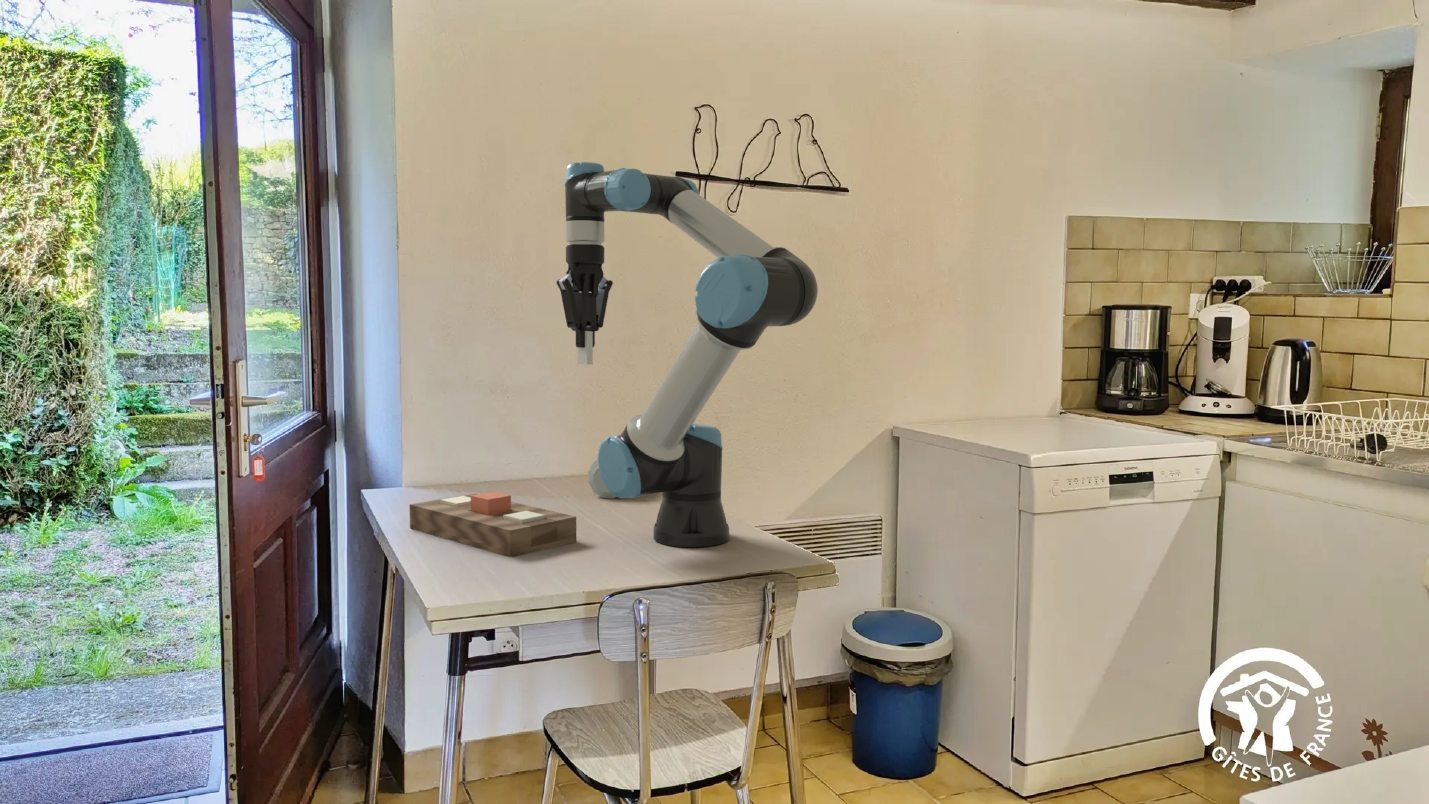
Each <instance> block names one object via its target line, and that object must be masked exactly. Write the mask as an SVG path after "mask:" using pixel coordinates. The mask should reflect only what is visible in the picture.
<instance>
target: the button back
mask: <svg viewBox="0 0 1429 804" xmlns="http://www.w3.org/2000/svg"><path fill="white" fill-rule="evenodd" d="M459 496H460V497H457V496H453V497H454V498H451V497H447V498H448V499H445V498H441V499H442V500H440V502H441V504H444V505H448V506H452V507H462V506H467V505H471V498H470V497H466V496H463V495H459Z"/></svg>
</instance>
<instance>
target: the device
mask: <svg viewBox="0 0 1429 804" xmlns="http://www.w3.org/2000/svg"><path fill="white" fill-rule="evenodd" d="M588 484H589V486H590V488H591V489H592V492H593V493H595V494H596V495H598V496H599V497H601V498H603V499H615V498H617V497H616V496H614V495H613V494H612V493H610V492H609V491H608V489H607V488H606V487H605V485H604V483H603V481H602V479H601V476H600V473H599V467H598V459H597V460H595V461H593V462H592V464H591V466H590V468H589V470H588Z"/></svg>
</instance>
